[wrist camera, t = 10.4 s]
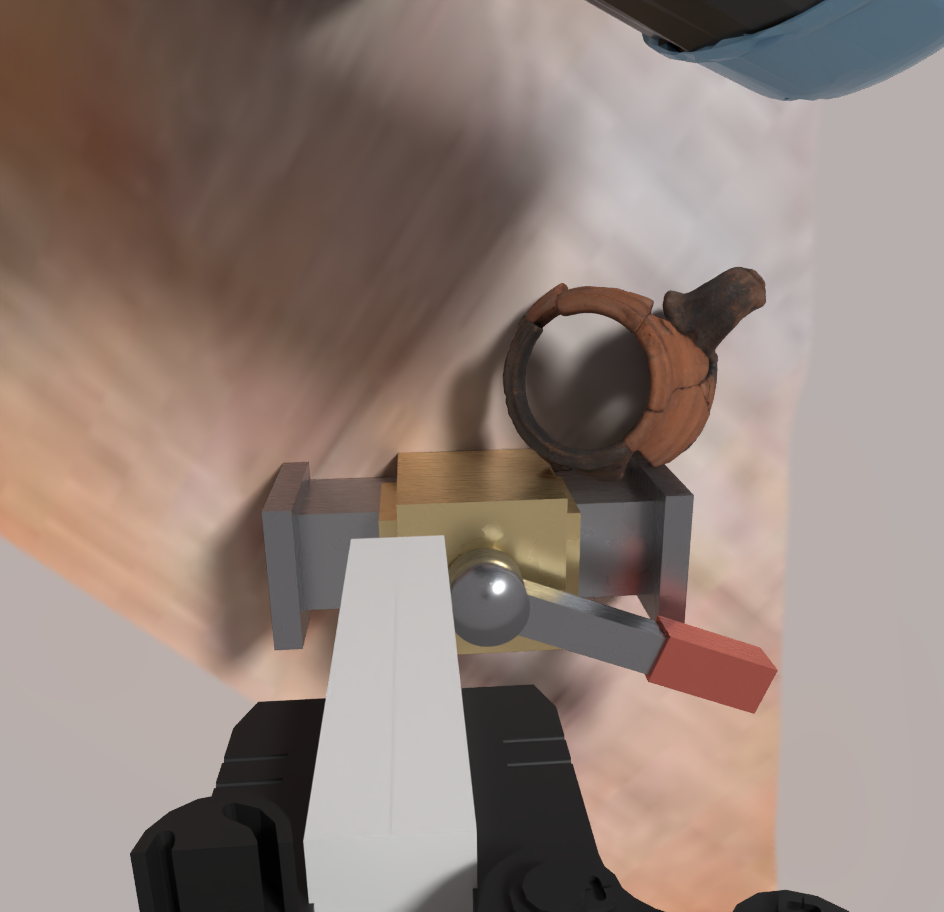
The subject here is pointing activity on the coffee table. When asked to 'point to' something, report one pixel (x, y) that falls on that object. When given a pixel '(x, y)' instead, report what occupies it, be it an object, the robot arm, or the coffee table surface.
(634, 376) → the coffee table surface
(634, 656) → the lever
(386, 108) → the coffee table surface
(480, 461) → the valve body
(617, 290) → the pottery mug
